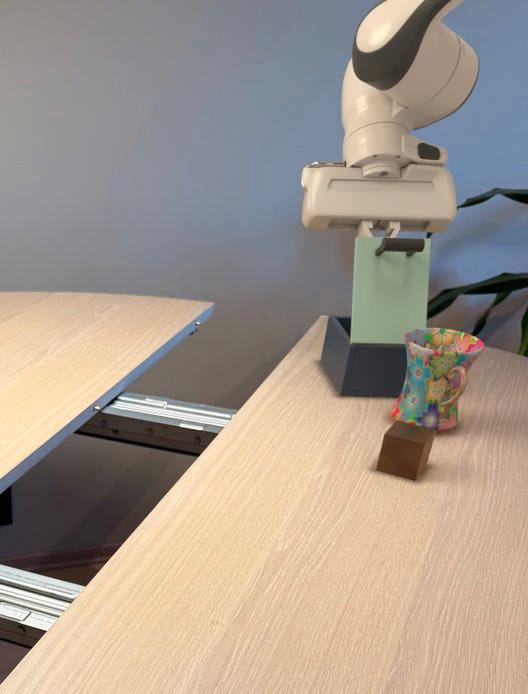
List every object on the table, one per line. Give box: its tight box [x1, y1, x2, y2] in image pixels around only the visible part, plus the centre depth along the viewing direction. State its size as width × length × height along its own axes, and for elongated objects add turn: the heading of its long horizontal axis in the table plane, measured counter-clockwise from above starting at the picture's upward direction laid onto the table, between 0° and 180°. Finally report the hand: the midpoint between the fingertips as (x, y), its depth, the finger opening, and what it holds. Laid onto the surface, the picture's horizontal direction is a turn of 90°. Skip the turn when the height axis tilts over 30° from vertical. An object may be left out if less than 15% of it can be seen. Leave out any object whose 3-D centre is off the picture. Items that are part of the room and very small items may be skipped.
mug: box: [389, 327, 485, 432], centre depth 121 cm, size 12×9×11 cm
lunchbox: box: [319, 314, 407, 398], centre depth 135 cm, size 13×10×7 cm
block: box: [375, 420, 437, 481], centre depth 113 cm, size 5×5×5 cm
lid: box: [350, 236, 432, 345], centre depth 125 cm, size 13×10×5 cm
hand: (379, 256), depth 132 cm, fingers closed
